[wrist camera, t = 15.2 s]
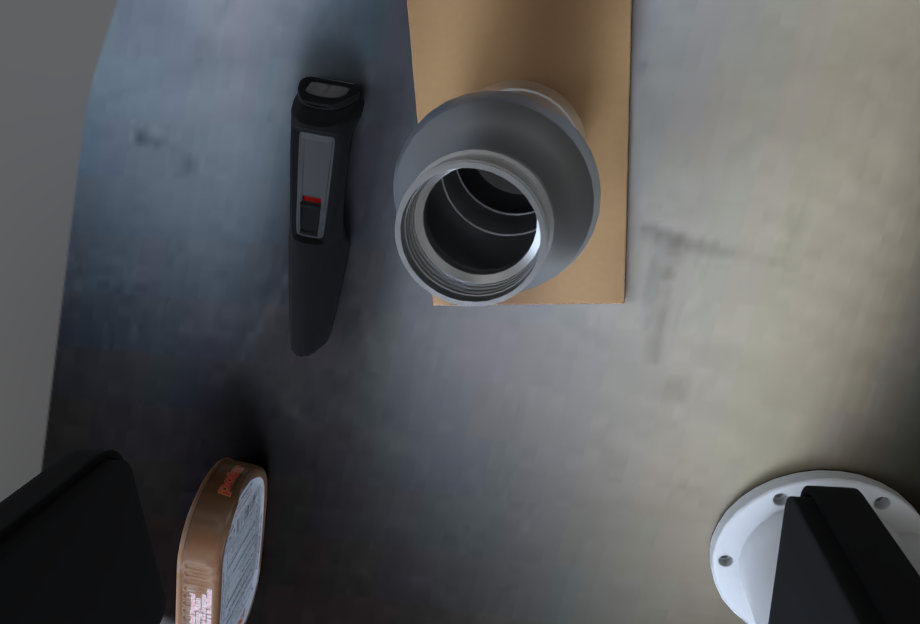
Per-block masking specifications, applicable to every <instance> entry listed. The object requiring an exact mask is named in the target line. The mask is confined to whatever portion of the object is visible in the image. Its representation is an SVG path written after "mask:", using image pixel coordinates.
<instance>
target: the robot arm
mask: <svg viewBox="0 0 920 624" xmlns="http://www.w3.org/2000/svg"><path fill="white" fill-rule="evenodd" d="M709 557H710V567H711V571H712V575H713V578H714V582H715V585H716V587H717V589H718V591H719V593H720V595H721V597H722V599H723V600H724V601H725V603H726V604H727V605H728V606H729V608H730V609H731V610H732V611H733V612H734V613H735V614H736V615H738V616H739V617H740V618H741V619H743V620H744V621H745V622H746V623H748V624H920V515H919V514H918V513H917V511H916V510H915V509H914V508H913V506H912V505H911V504H910V503H909V502H908V501H907V500H906V499H904V498H903V497H902V496H901V495H900V494H899V493H898V492H896V491H895V490H893V489H891V488H890V487H888V486H886V485H884V484H883V483H881V482H879V481H876V480H873V479H871V478H868V477H865V476H862V475H859V474H853V473H848V472H842V471H825V470H816V471H807V472H799V473H793V474H790V475H786V476H783V477H779V478H775V479H773V480H771V481H768V482H766V483H764V484H762V485H760V486H757V487H756V488H754V489H753V490H751V491H749V492H748V493H746V494H745V495H743V496H742V497H740V498H739V499H738V500H737V501H736V502H735V503H734V504H733V505H732V506H731V507H730V508H729V509H728V510H727V511H726V513H725V514H724V515H723V517H722V518H721V520H720V521H719V523H718V524H717V526H716V529H715V531H714V534H713V536H712V539H711V545H710V552H709ZM164 611H165V596H164V592H163V588H162V584H161V581H160V577H159V573H158V569H157V565H156V561H155V558H154V554H153V550H152V546H151V542H150V538H149V534H148V531H147V527H146V523H145V519H144V515H143V511H142V508H141V504H140V500H139V496H138V492H137V488H136V484H135V481H134V477H133V473H132V469H131V467H130V465H129V464H128V463H127V462H126V461H124V460H123V458H122V456H121V455H120V454H119V453H118V452H116V451H114V450H102V449H83V448H81V449H74V450H72V451H71V452H69V453H67V454H66V455H64V456H63V457H62V458H60V459H59V460H58V461H56V462H55V463H54V464H52V465H51V466H49V467H48V468H47V469H45V470H44V471H43V472H41V473H40V474H39V475H37V476H36V477H35V478H33V479H32V480H30V481H29V482H28V483H27V484H25V485H24V486H22V487H21V488H20V489H18V490H17V491H15V492H14V493H13V494H11V495H10V496H9V497H7V498H6V499H5V500H3V501H2V502H0V624H160V622H161V620H162V617H163V615H164Z"/></svg>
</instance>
